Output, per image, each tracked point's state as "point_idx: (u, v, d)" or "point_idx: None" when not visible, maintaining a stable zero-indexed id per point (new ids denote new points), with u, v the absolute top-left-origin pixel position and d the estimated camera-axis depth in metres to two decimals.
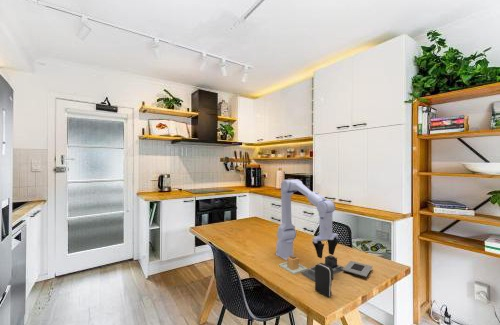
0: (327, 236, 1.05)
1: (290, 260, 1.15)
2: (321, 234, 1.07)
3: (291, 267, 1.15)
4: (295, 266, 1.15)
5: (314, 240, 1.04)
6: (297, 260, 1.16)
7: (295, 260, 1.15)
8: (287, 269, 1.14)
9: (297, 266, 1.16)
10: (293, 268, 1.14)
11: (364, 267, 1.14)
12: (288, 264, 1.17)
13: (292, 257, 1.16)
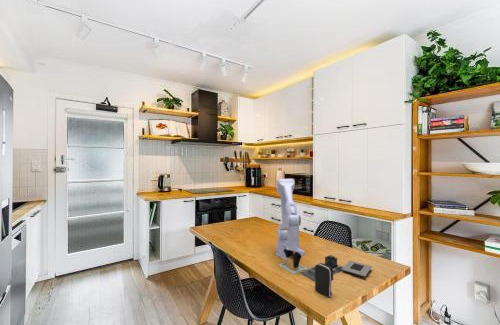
0: (287, 245, 1.17)
1: (290, 260, 1.15)
2: None
3: (291, 267, 1.15)
4: None
5: None
6: None
7: None
8: (287, 269, 1.14)
9: None
10: (293, 268, 1.14)
11: (363, 267, 1.14)
12: (288, 264, 1.17)
13: (292, 257, 1.16)
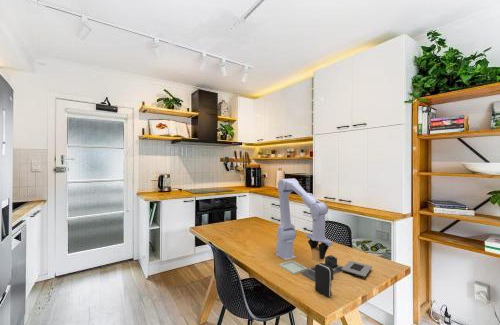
0: (312, 236, 1.11)
1: (315, 252, 1.09)
2: None
3: (317, 259, 1.09)
4: None
5: None
6: None
7: None
8: (287, 269, 1.14)
9: None
10: (319, 260, 1.08)
11: (363, 267, 1.14)
12: (313, 256, 1.10)
13: (317, 249, 1.09)
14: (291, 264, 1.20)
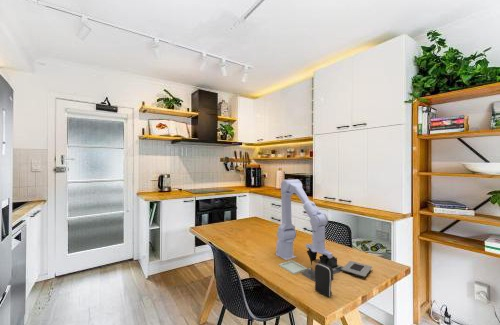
0: (312, 247, 1.11)
1: (315, 264, 1.09)
2: None
3: None
4: None
5: None
6: None
7: None
8: (287, 269, 1.14)
9: None
10: None
11: (363, 267, 1.14)
12: (313, 268, 1.10)
13: (317, 261, 1.09)
14: (291, 264, 1.20)
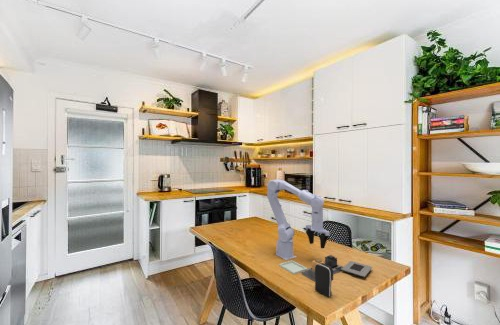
0: (311, 227, 1.23)
1: (315, 264, 1.09)
2: None
3: None
4: None
5: None
6: None
7: None
8: (287, 269, 1.14)
9: None
10: None
11: (363, 267, 1.14)
12: (313, 268, 1.10)
13: (317, 261, 1.09)
14: (291, 264, 1.20)
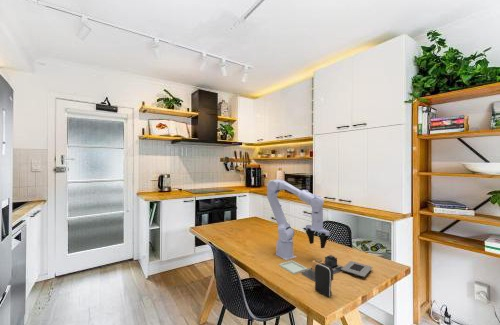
0: (311, 226, 1.23)
1: (315, 264, 1.09)
2: None
3: None
4: None
5: None
6: None
7: None
8: (287, 269, 1.14)
9: None
10: None
11: (363, 267, 1.14)
12: (313, 268, 1.10)
13: (317, 261, 1.09)
14: (291, 264, 1.20)
